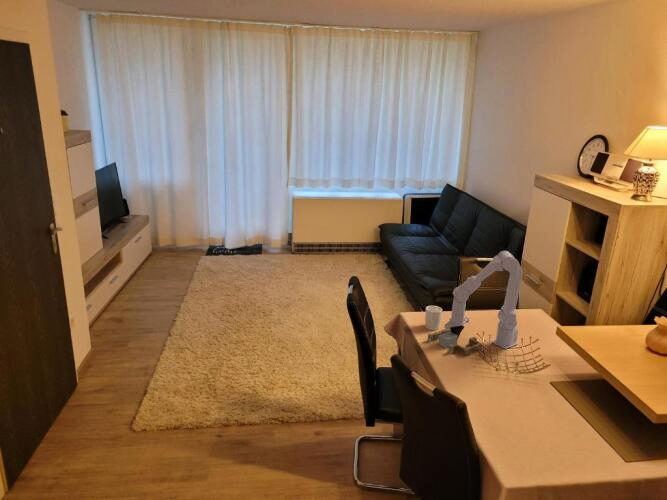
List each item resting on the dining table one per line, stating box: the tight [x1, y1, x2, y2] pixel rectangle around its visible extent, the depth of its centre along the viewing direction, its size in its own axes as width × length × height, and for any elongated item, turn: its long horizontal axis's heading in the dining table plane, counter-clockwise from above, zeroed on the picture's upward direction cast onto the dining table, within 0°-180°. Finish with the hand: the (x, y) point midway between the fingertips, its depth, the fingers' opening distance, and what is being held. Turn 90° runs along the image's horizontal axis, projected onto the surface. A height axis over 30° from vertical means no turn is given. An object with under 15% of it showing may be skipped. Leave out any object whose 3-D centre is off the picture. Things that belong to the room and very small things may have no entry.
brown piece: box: [427, 328, 483, 357], centre depth 228 cm, size 17×19×4 cm
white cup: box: [424, 305, 443, 331], centre depth 243 cm, size 8×8×10 cm
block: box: [437, 331, 459, 349], centre depth 228 cm, size 7×5×4 cm
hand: (455, 339), depth 231 cm, fingers closed
